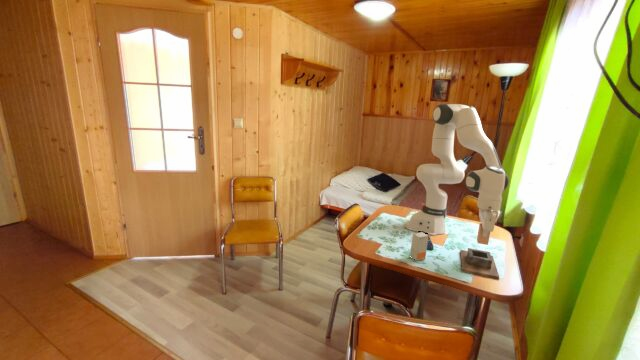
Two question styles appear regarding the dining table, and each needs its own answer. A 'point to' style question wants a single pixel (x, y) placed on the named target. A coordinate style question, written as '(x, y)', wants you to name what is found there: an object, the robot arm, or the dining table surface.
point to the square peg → (480, 237)
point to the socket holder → (478, 263)
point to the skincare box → (419, 246)
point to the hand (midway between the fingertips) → (483, 233)
